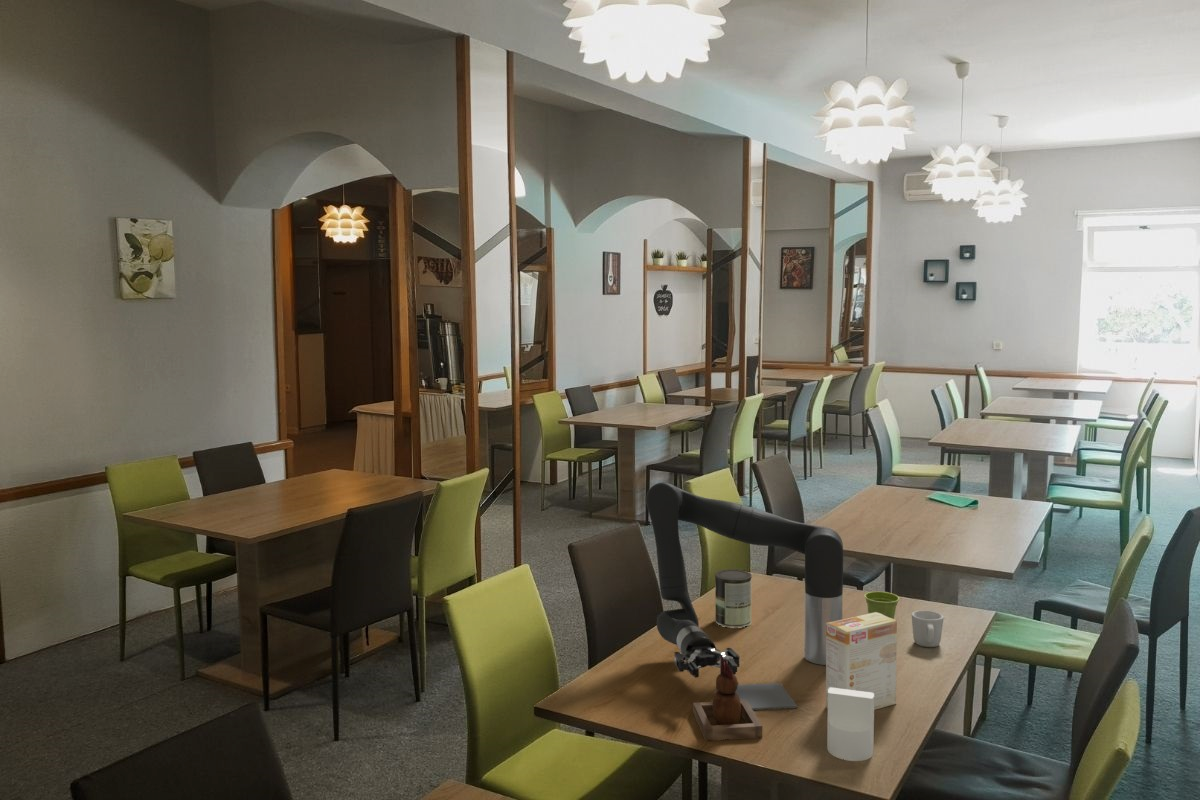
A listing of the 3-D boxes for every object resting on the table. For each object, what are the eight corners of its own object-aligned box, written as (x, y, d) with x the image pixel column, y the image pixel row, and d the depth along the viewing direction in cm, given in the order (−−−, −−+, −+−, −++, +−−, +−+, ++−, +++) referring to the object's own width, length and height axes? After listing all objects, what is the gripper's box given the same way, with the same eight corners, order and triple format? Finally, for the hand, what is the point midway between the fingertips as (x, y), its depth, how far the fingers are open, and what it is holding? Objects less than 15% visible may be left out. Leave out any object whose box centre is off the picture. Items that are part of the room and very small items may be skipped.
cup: (947, 654, 235) (947, 624, 234) (914, 652, 237) (915, 622, 236) (940, 639, 246) (940, 610, 245) (909, 638, 247) (909, 609, 247)
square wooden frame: (746, 710, 204) (746, 699, 203) (762, 737, 191) (762, 726, 191) (693, 713, 203) (693, 702, 202) (705, 740, 190) (705, 729, 189)
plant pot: (902, 624, 258) (903, 594, 257) (893, 634, 250) (894, 603, 249) (869, 619, 263) (869, 589, 262) (859, 628, 255) (860, 598, 254)
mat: (780, 684, 218) (780, 682, 218) (797, 708, 205) (797, 705, 205) (726, 687, 216) (726, 685, 216) (739, 711, 204) (739, 709, 203)
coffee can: (708, 624, 261) (708, 575, 259) (725, 614, 269) (725, 567, 268) (741, 631, 255) (741, 581, 253) (757, 620, 263) (757, 572, 262)
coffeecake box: (874, 693, 212) (875, 611, 210) (897, 704, 206) (898, 620, 204) (824, 706, 205) (824, 621, 204) (846, 718, 199) (847, 631, 197)
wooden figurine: (710, 719, 200) (710, 652, 198) (736, 717, 200) (736, 651, 199) (716, 733, 193) (716, 664, 192) (743, 731, 194) (743, 663, 192)
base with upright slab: (824, 756, 182) (824, 698, 181) (830, 737, 191) (830, 681, 190) (871, 764, 179) (872, 704, 178) (875, 743, 187) (875, 687, 186)
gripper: (666, 632, 217) (684, 657, 201) (724, 628, 220) (746, 652, 204) (666, 663, 218) (684, 691, 202) (724, 658, 220) (746, 685, 204)
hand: (715, 671), depth 203 cm, fingers open, 8 cm apart
